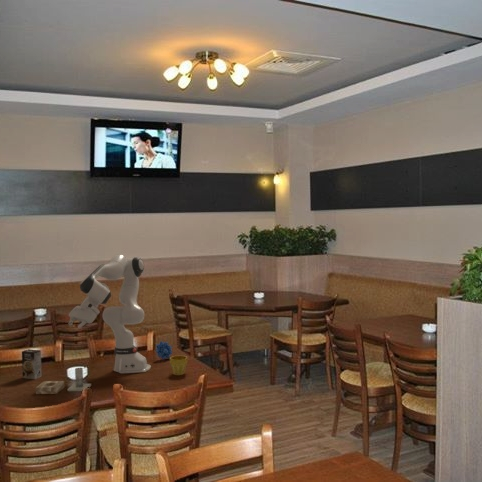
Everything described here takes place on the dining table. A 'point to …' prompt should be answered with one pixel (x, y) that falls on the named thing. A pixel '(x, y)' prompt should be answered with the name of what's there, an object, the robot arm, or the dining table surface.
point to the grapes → (163, 350)
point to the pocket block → (50, 387)
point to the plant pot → (178, 364)
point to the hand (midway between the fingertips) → (74, 326)
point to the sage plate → (74, 388)
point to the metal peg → (79, 377)
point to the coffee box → (31, 364)
